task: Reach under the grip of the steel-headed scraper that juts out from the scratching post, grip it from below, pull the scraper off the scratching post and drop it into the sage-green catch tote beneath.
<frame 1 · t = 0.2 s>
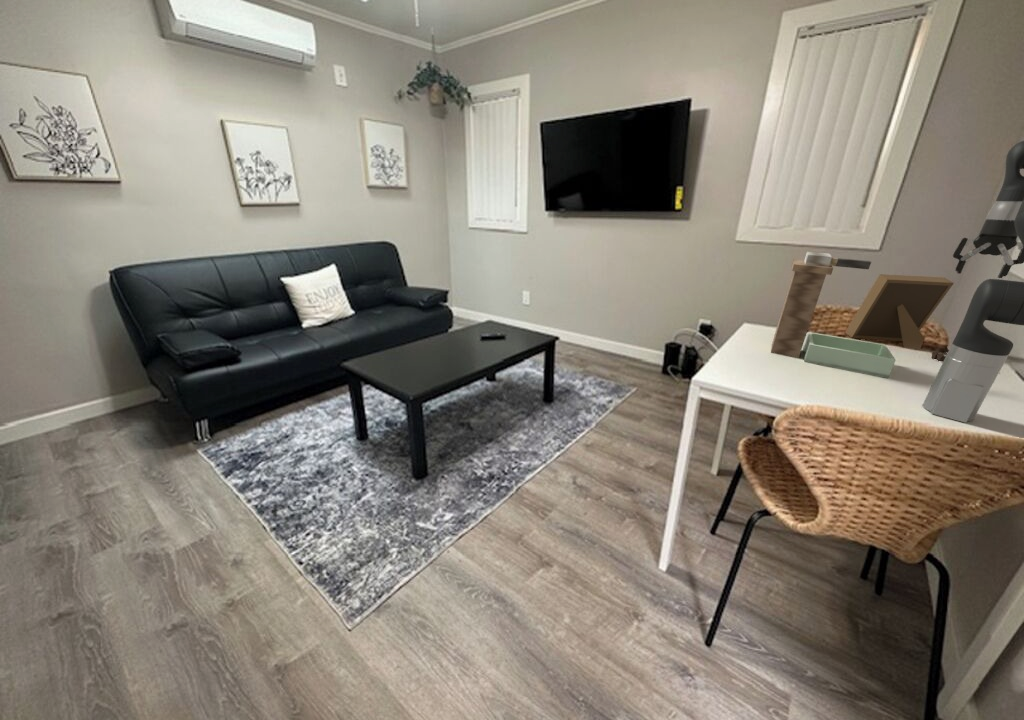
hand: (978, 275, 121), 29 cm above the table, tool pointing down, fingers open, 8 cm apart
scraper: (831, 265, 126), point 30 cm above the table, touching scratching post
tote: (841, 361, 132), on the table
scratching post: (784, 350, 140), on the table
bear figurine: (955, 362, 137), on the table
photo frame: (887, 343, 153), on the table
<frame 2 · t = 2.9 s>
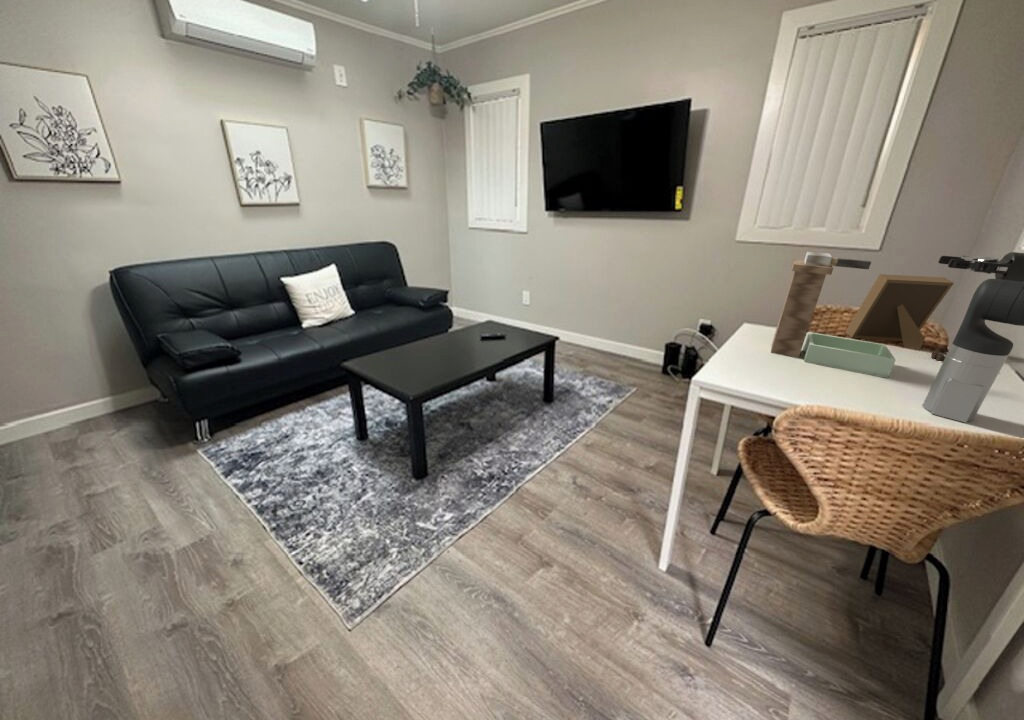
hand: (944, 261, 113), 34 cm above the table, tool horizontal, fingers open, 8 cm apart
nothing on the table moved.
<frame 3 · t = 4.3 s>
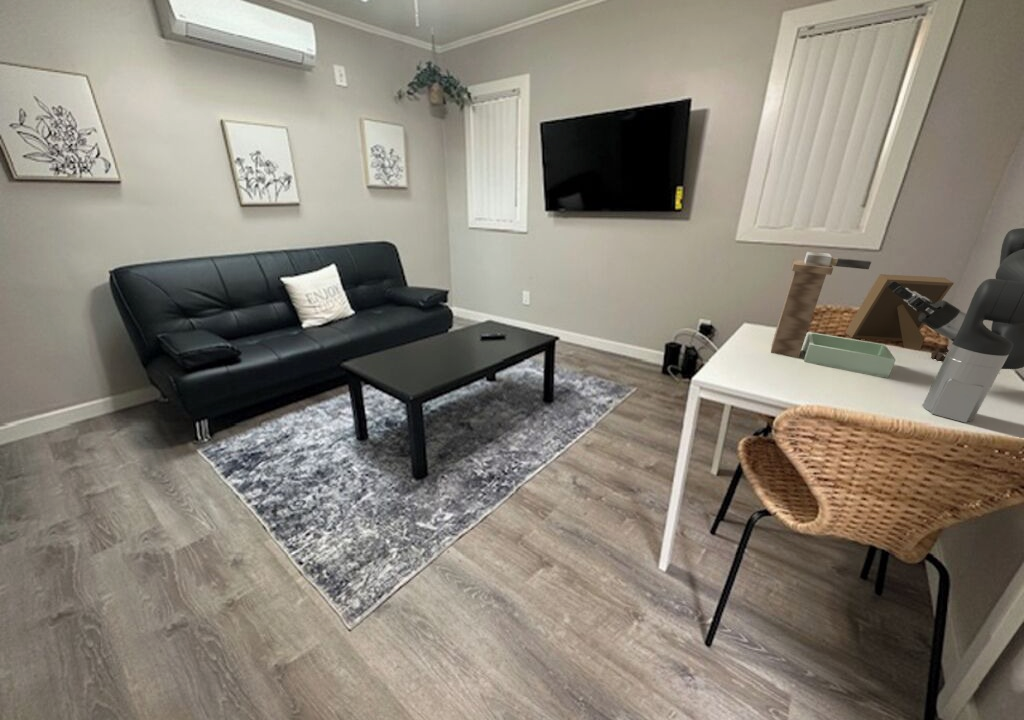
hand: (893, 286, 120), 26 cm above the table, tool pointing upward, fingers open, 8 cm apart
nothing on the table moved.
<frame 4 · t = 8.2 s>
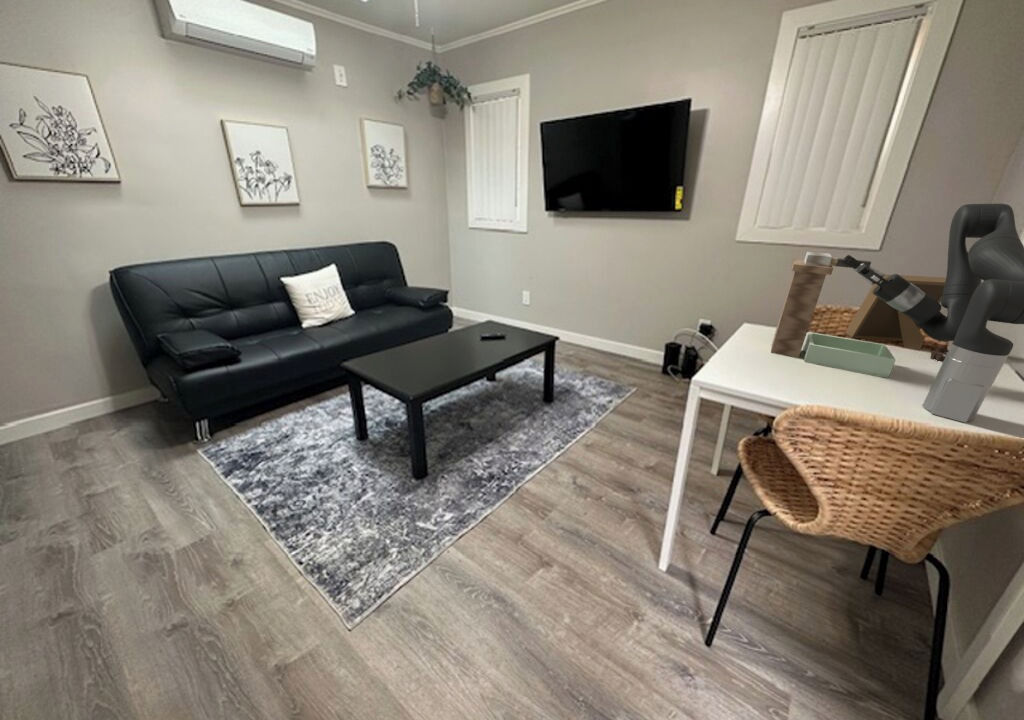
hand: (846, 258, 124), 33 cm above the table, tool pointing upward, fingers closed on scraper, 2 cm apart
scraper: (831, 265, 126), point 30 cm above the table, touching gripper, scratching post
everything else where it was.
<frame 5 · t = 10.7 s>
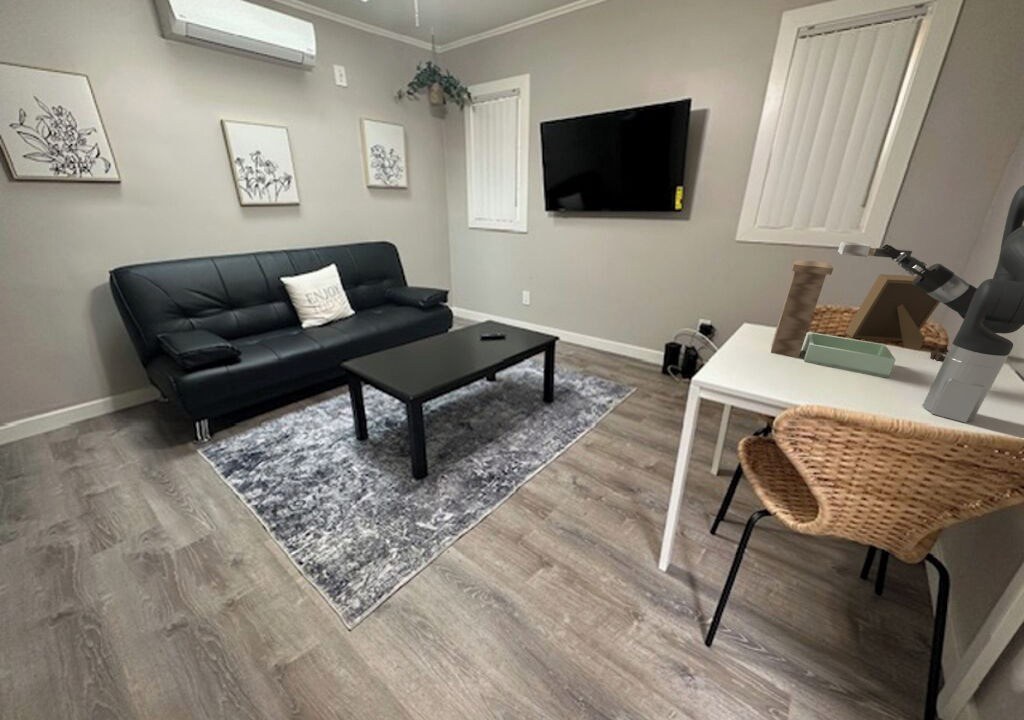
hand: (884, 247, 118), 36 cm above the table, tool pointing upward, fingers closed on scraper, 2 cm apart
scraper: (868, 255, 121), point 34 cm above the table, touching gripper
everything else where it was.
when the fingers open (26 cm above the table, at t = 13.4 s): scraper drops 23 cm, resting on tote.
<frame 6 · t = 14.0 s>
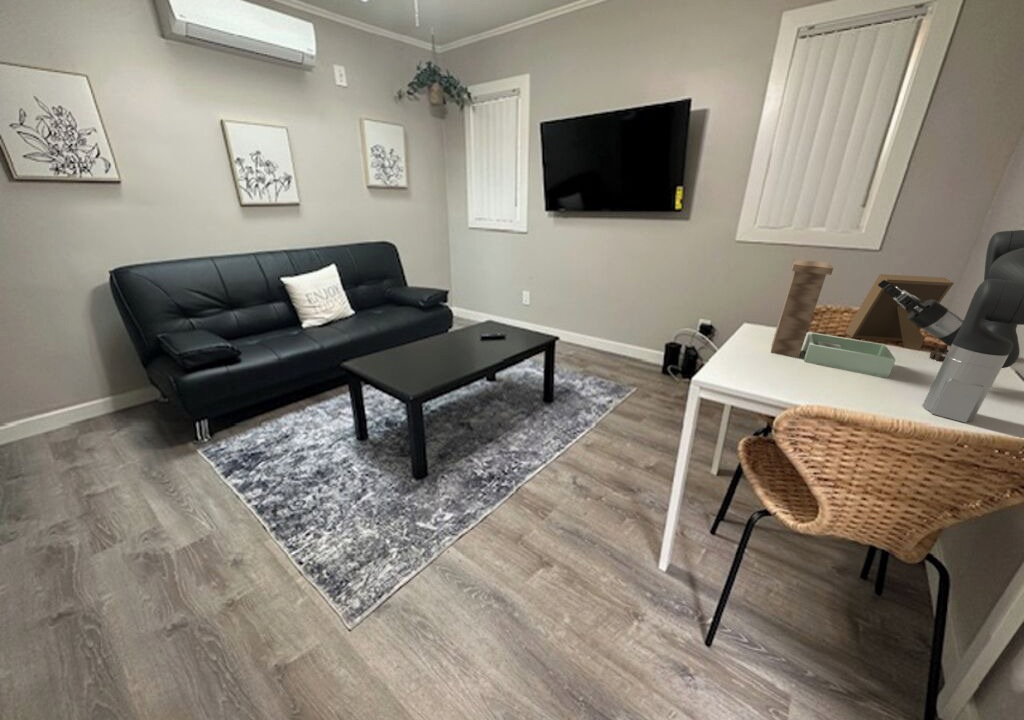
hand: (883, 284, 121), 26 cm above the table, tool pointing upward, fingers open, 8 cm apart
scraper: (842, 358, 132), point 1 cm above the table, touching tote
everything else where it was.
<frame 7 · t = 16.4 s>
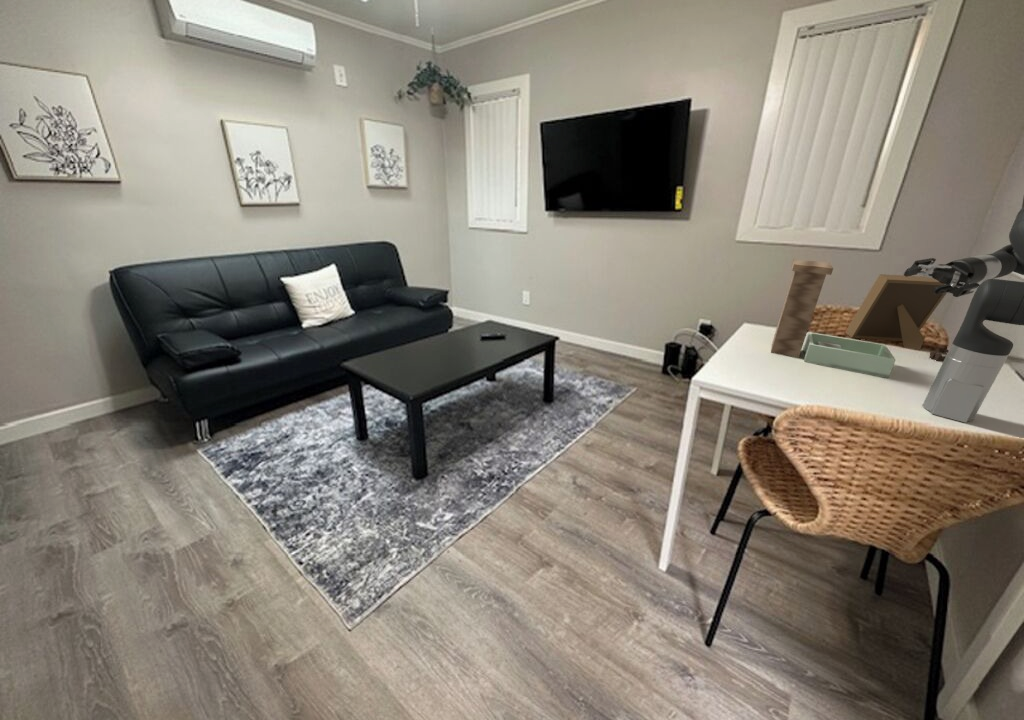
hand: (919, 281, 111), 29 cm above the table, tool horizontal, fingers open, 8 cm apart
nothing on the table moved.
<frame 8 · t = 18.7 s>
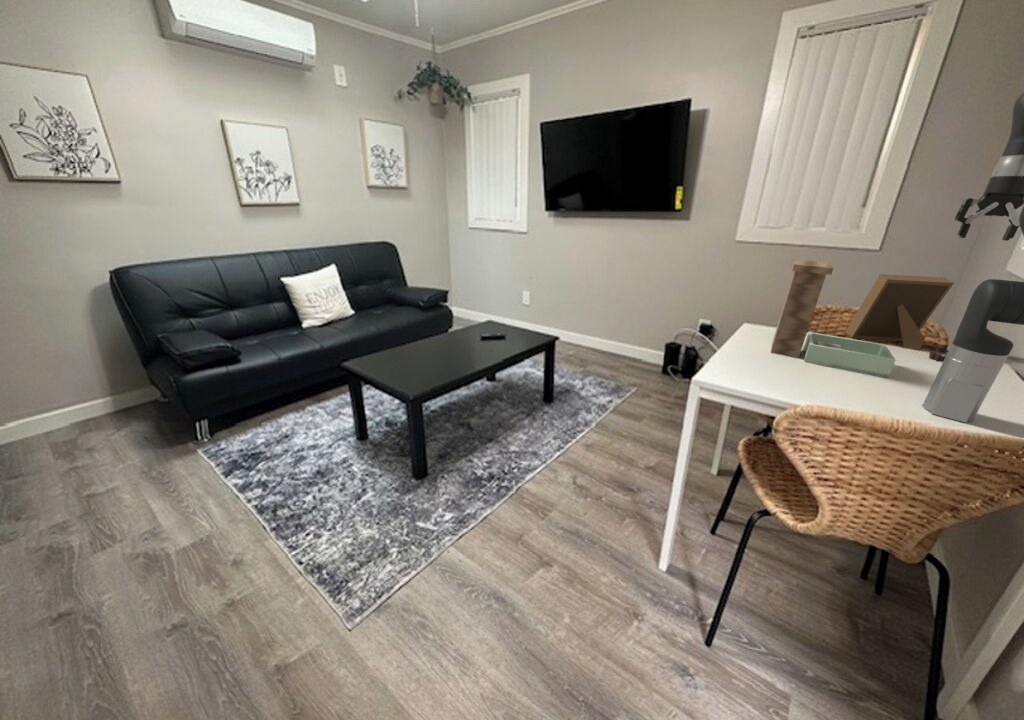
hand: (982, 239, 112), 40 cm above the table, tool pointing down, fingers open, 8 cm apart
nothing on the table moved.
at the end: scraper inside the target area on the tote (0.2 cm from its centre), point 1.0 cm above the tote's base; scraper touching tote; the gripper is holding nothing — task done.
